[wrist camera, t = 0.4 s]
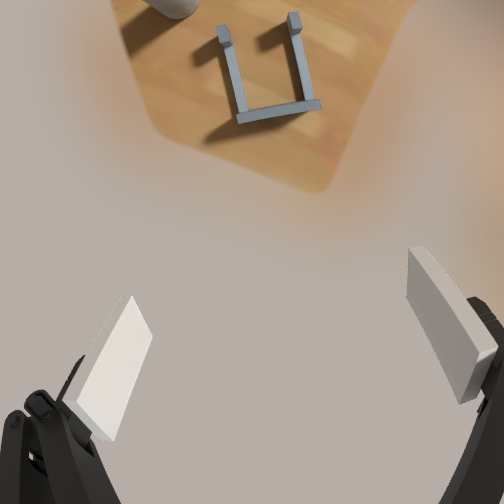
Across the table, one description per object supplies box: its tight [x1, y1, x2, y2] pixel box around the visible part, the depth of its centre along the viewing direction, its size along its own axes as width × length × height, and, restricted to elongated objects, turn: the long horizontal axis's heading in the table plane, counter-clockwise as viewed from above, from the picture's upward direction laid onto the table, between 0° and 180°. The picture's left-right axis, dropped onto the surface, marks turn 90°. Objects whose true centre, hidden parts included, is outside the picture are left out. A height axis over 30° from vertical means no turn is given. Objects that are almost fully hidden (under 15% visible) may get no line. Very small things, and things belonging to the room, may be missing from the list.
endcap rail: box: [216, 11, 322, 124], centre depth 30 cm, size 11×8×5 cm
